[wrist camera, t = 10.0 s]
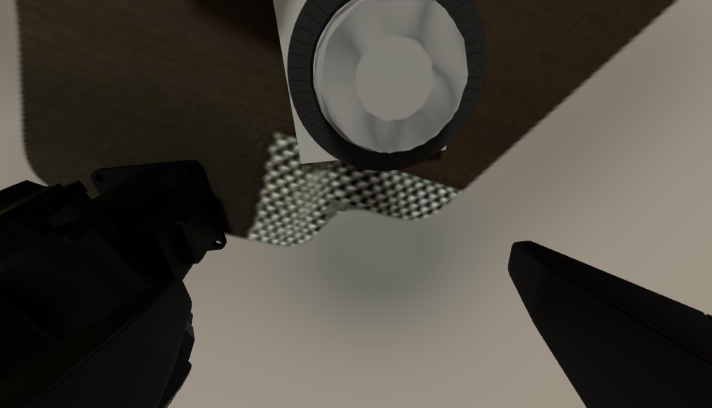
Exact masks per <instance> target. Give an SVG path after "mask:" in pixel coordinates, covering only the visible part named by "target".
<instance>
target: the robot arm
mask: <svg viewBox="0 0 712 408" xmlns="http://www.w3.org/2000/svg"><path fill="white" fill-rule="evenodd" d="M190 166H193V167H194V168H195V171H192V170H191V169H190ZM100 175H102V176H103V177H104V178H105V180H104V179H102V178H101V177H100ZM91 178H92V181H93V183H94V185H95V186H96V188H97V190H98V192H99V194H100V195H99V196H97V197H96V198H94V199H91V198H90V197H89V196H88V195H87V193H86V192H87V191H88V190H87V189H86V188H85V187H84V186H83V184H82V183H81V182H80V181H79V180H78V181H75V182H73V183H70V184H67V185H64V186H62V185H61V184H60V183H59V184H56V185H53V186H47V187H46V186H43V185H40V184H37V183H34V182H31V181H28V180H26V181H23V182H21V183H18V184H15V185H12V186H10V187H8V188H5V189H3V190H1V191H0V408H167V407H168V406H169V404H170V403H171V401H172V400H173V398H174V397H175V395H176V393H177V392H178V391H179V390H180V388H181V387H182V385H183V383H184V382H185V380H186V378H187V376H188V374H189V372H190V370H191V366H192V365H191V363H190V362H189V361H188V360H189V358H190V354H191V351H192V347H193V344H194V340H195V338H194V331H193V327H192V326H191V324H192V317H193V314H192V313H191V308H192V301H191V298H190V296H189V294H188V292H187V289H186V287H185V285H184V283H183V281H182V280H183V279H184V277H185V276H186V274H187V273H188V271H189V270H190V268H191V267H192V265H193V264H197V263H199V262H200V261H201V260H202V258H203V257H204V255H205V254H206V252H207V251H211V250H220V249H223V248H224V246H225V244H226V242H227V240H226V237H225V234H224V231H223V228H222V227H223V226H224V223H223V220H222V217H221V214H220V211H219V208H218V205H217V202H216V199H215V196H214V193H213V192H212V191H210V189H209V186H208V183H207V180H206V177H205V174H204V171H203V168H202V166H201V164H200V163H199V162H198V161H196V160H184V161H173V162H163V163H153V164H143V165H132V166H122V167H112V168H102V169H98V170H96V171H94V172H93V173H92V174H91ZM216 241H220V242H221V244H220V243H217V242H216ZM508 271H509V275H510V277H511V279H512V281H513V283H514V285H515V287H516V289H517V291H518V293H519V295H520V297H521V299H522V301H523V303H524V305H525V307H526V309H527V311H528V313H529V315H530V317H531V319H532V321H533V323H534V325H535V326H536V328H537V330H538V331H539V333H540V334H541V336H542V338H543V339H544V340H545V342H546V344H547V346H548V347H549V349H550V350H551V352H552V353H553V355H554V356H555V358H556V360H557V361H558V363H559V365H560V366H561V368H562V369H563V371H564V373H565V374H566V376H567V377H568V379H569V381H570V382H571V384H572V385H573V387H574V388H575V390H576V392H577V393H578V395H579V396H580V398H581V400H582V401H583V403H584V404H585V406H586V407H587V408H712V316H711V315H708V314H707V315H705V314H704V313H703V312H701V311H699V310H696V309H694V308H692V307H689V306H687V305H685V304H682V303H680V302H677V301H674V300H672V299H670V298H668V297H665V296H663V295H660V294H658V293H655V292H653V291H650V290H648V289H645V288H643V287H641V286H639V285H636V284H634V283H631V282H629V281H626V280H624V279H621V278H619V277H616V276H614V275H612V274H609V273H607V272H605V271H602V270H600V269H597V268H595V267H593V266H590V265H588V264H585V263H583V262H580V261H578V260H576V259H573V258H571V257H568V256H566V255H564V254H561V253H559V252H556V251H554V250H551V249H549V248H546V247H544V246H542V245H539V244H537V243H534V242H532V241H520V242H515V243H514V244H513V245H512V248H511V253H510V258H509V264H508Z"/></svg>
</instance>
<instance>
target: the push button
mask: <svg viewBox="0 0 712 408" xmlns="http://www.w3.org/2000/svg"><path fill="white" fill-rule="evenodd" d="M329 21H330V22H329ZM328 23H329V24H328ZM323 31H324V33H323ZM322 33H323V35H322ZM321 35H322V37H321ZM320 37H321V39H320ZM319 39H320V41H319ZM318 42H319V43H318ZM317 44H318V46H317ZM316 48H317V49H316ZM315 52H316V54H315ZM314 56H315V66H314V75H313V64H314ZM485 67H486V44H485V37H484V31H483V27H482V23H481V19H480V17H479V14H478V12H477V9H476V7H475V5H474V3H473V1H472V0H307V1H306V2H305V4H304V6H303V7H302V9H301V11H300V13H299V15H298V18H297V20H296V22H295V25H294V28H293V31H292V34H291V38H290V43H289V48H288V58H287V75H288V85H289V90H290V95H291V98H292V102H293V105H294V108H295V110H296V113H297V115H298V117H299V119H300V121H301V123H302V124H303V126H304V128H305V129H306V131H307V132H308V134H309V135H310V136H311V137H312V138H313V140H314V141H315V142H316V143H317V144H318V145H319V146H320V147H321V148H322V149H324V150H325V151H326V152H327V153H329V154H330V155H331V156H333V157H335V158H336V159H338V160H340V161H342V162H344V163H346V164H348V165H351V166H353V167H357V168H361V169H365V170H372V171H392V170H398V169H403V168H407V167H410V166H413V165H416V164H418V163H420V162H422V161H424V160H426V159H428V158H430V157H432V156H433V155H435V154H436V153H438V152H439V151H440V150H442V149H443V148H444V147H445V146H446V145H447V144H449V143H450V142H451V141H452V140H453V139H454V137H455V136H456V135H457V134H458V133H459V132H460V130H461V129H462V128H463V126H464V125H465V123H466V122H467V120H468V119H469V117H470V115H471V113H472V112H473V110H474V108H475V105H476V103H477V101H478V98H479V95H480V92H481V89H482V85H483V80H484V75H485Z"/></svg>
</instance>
